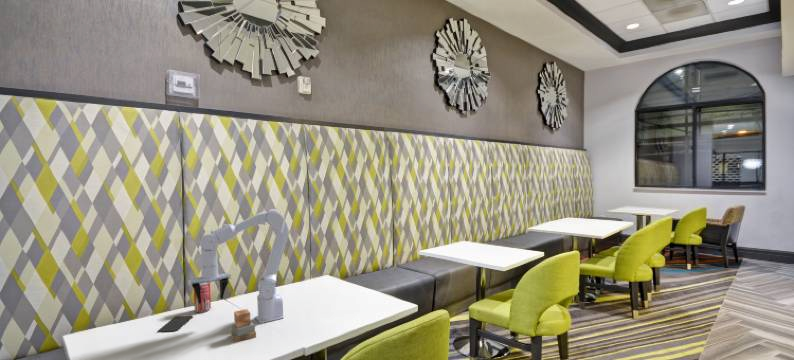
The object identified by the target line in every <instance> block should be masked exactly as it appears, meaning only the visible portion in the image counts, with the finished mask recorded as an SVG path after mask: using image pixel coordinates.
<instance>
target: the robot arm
mask: <svg viewBox="0 0 794 360" xmlns="http://www.w3.org/2000/svg"><path fill="white" fill-rule="evenodd" d="M266 223H267V224H268V226H270V227H271V228H272V229H273V230H274V232H275V236H274V240H273V243H272V246H271V251H270V254H269V257H268V261H267V263H266V266H265V270H264V272H263V274H262V277H261V278H260V279H259V281H258V282H257V289H258V293H259V294H258V295H257V297H256V298H257V315H255V316H254V318H255V319H256V321H257V322H258V323H259V324H263V323H268V322H272V321H276V320H280V319H284V317H285V316H284V302H283V296H282V294H280V293H276V292H277V290H276V289H277V288H276V283H277V275H278V272H279V268H280V265H281V262H282V259H283V255H284V252H285V248H286V245H287V241H288V238H289V234H290V229H289V227H288V224H287V220H286V218H285V216H284V215H283V214H282V212H280V211H279V210H278V209H276V208H270V209H268V210H267V211H266V210H264V211H261V212H259V213H256V214H254V215H252V216H250V217H248V218H246V219H244V220H242V221H240V222H238V223H236V224H231V223H228V224H226V223H225V224H223V225H222V227H219V228H217V229H215V230H211V231H210V233H205V234H203V235H202V236H201V239H200V241H199V246H200V247H201V249H200V252H201V254H200V265H201V268H200V269H201V276H198V277H195V278H190V279H188V281H187V282H188V286H189V287H190V286H191V287H192V288H193V291H194V290H195V292H196V295H197V298H198V302H199V303H201V287H200V283H206V282H209V283H212V282H217V281H219V298H220V299H221V300H224V295H225V291H226V290H227V289H226V288H227V286H228V284H229V280H231V279H232V274H231V273H230V272H228V273H227V272H226V273H219V265H218V264H219V263H218V262H219V261H218V258H219V257H218V251H217V246H218V245H223V244H225V243H227V242H229V241H231V240H233V239H235V238H236V237H237V236H238V233H241V232H243V231H245V230H247V229H249V228H251V227H254V226H256V225H264V226H266Z"/></svg>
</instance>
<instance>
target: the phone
mask: <svg viewBox="0 0 794 360" xmlns="http://www.w3.org/2000/svg"><path fill="white" fill-rule="evenodd" d="M193 318H194V316H193V315H176V316H174V317H173V318H172V319H170V320H169V321H168V322H167V323H165V324H164V325H163V326H161V328H159V329H158V330H157V333H158V332H162V333H175V332H178V331H180V329H182V328H183V327H184V326H185V325H186V324H187V323H188V322H189V320H190V319H191V320H192V319H193ZM191 320H190V321H191ZM183 325H184V326H183ZM182 326H183V327H182ZM181 327H182V328H181Z"/></svg>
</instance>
